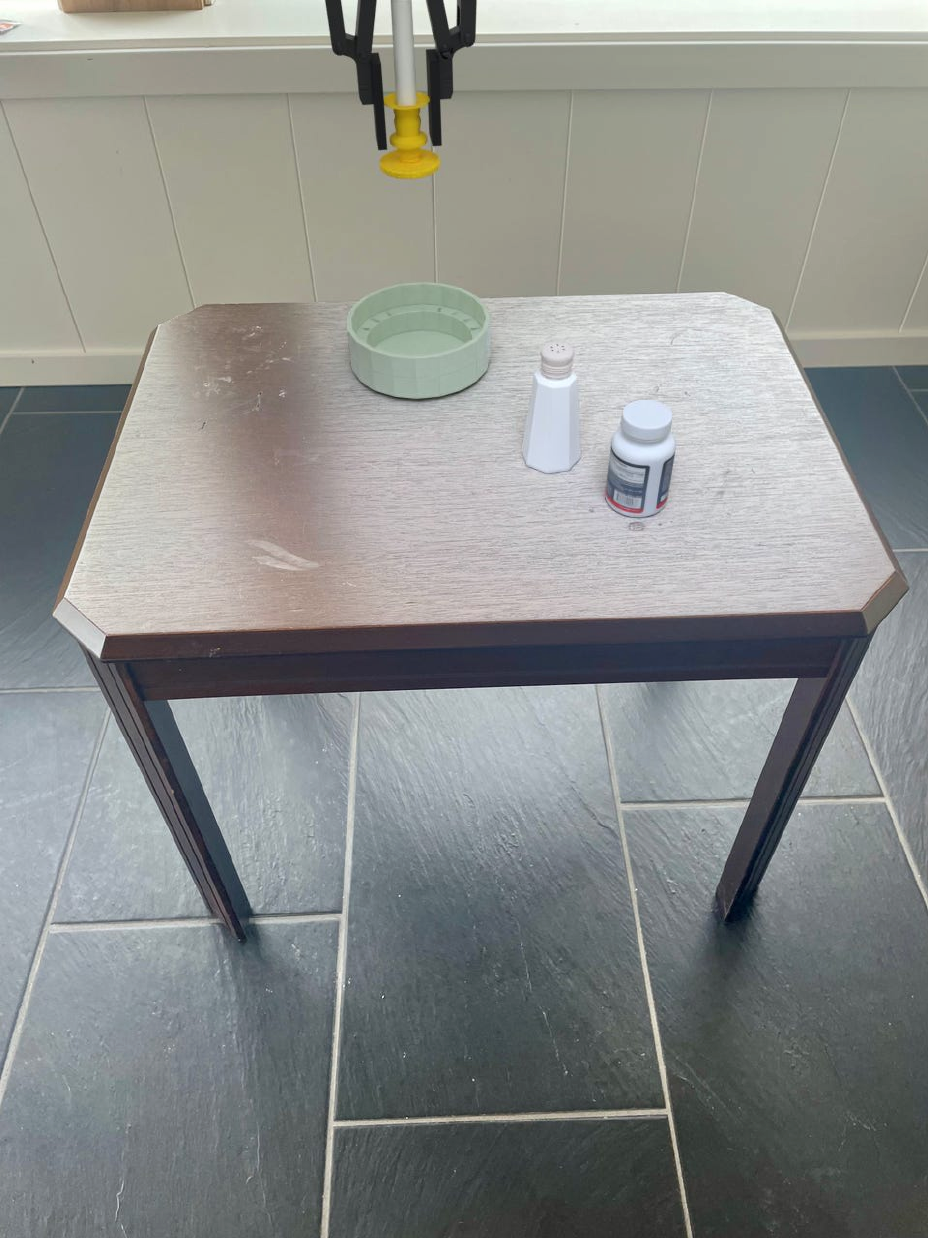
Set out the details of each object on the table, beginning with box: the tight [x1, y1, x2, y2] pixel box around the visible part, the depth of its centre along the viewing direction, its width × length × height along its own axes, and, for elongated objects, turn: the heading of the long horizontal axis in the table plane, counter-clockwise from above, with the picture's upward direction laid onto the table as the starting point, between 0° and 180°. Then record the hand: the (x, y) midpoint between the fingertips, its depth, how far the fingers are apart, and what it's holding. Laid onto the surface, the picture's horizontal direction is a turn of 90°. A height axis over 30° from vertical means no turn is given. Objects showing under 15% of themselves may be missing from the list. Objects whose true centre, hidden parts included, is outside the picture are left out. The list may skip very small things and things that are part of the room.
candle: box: [379, 0, 441, 180], centre depth 77 cm, size 5×5×16 cm
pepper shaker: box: [520, 340, 582, 475], centre depth 83 cm, size 5×5×11 cm
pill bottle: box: [605, 399, 677, 518], centre depth 80 cm, size 5×5×9 cm
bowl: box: [345, 281, 492, 400], centre depth 96 cm, size 14×14×5 cm
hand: (408, 140), depth 81 cm, fingers closed on candle, 4 cm apart
